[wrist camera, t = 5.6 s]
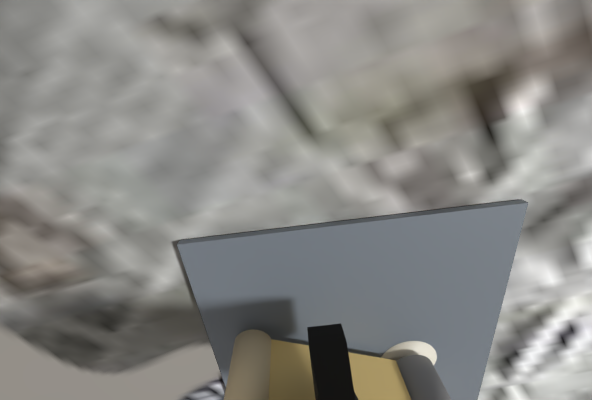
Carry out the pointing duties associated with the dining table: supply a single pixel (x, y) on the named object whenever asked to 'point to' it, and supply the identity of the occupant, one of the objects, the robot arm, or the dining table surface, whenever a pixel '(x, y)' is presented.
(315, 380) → the robot arm
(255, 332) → the fence panel
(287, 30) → the dining table surface
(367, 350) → the card
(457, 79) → the dining table surface
